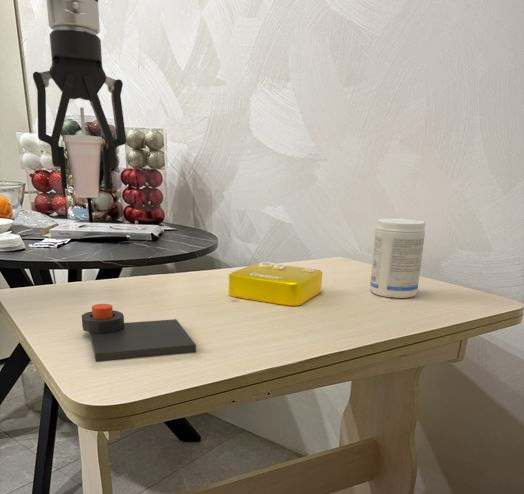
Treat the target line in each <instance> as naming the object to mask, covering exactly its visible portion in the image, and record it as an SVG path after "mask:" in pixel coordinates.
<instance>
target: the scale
mask: <svg viewBox="0 0 524 494" xmlns="http://www.w3.org/2000/svg"><path fill="white" fill-rule="evenodd" d="M112 310H113V317H112V318H107V319H94V318H93V316H92V310H91V311H87V312H84V313H83V314H82V315H81V326H82V331H84V332H87V333H88V335H89V339H90V343H91V347H92V352H93V355H94V360H95V362H96V363H99V362H109V361H119V360H120V361H121V360H131V359H139V358H141V359H142V358H151V357H162V356H173V355H183V354H194V353H197V345H196V343H195V342H194V340H193V339H192V338H191V336H190V335H189V334H188V332H187V331H186V330H185V328H184V327H183V326H182V325H181V324H180V322H179V321H178V319H176V318H175V319H173V318H172V319H160V320H147V321H132V322H130V321H129V322H125V315H124V313H123V312H121V311H118V310H114V309H112Z"/></svg>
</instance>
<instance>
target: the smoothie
mask: <svg viewBox="0 0 524 494" xmlns="http://www.w3.org/2000/svg"><path fill="white" fill-rule="evenodd" d="M79 112H80V126H81V134H63V135H62V136H61V137H62V143H63V142H64V145H65V146H64V147H65V151H66V155H67V156H66V157H67V160H68V161H67V162H68V165H69V170H70V176H71V181H72V184H73V190H74V196H75V197H76V198H81V199H95V198H96V199H97V198H99V193H100V191H99V190H100V173H101V155H102V144H104V141H103V140H104V139H103V137H102V136H95V135H91V134H90V135H89V134H87V133H86V123H85V121H86V120H85V108H84V107H79Z"/></svg>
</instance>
